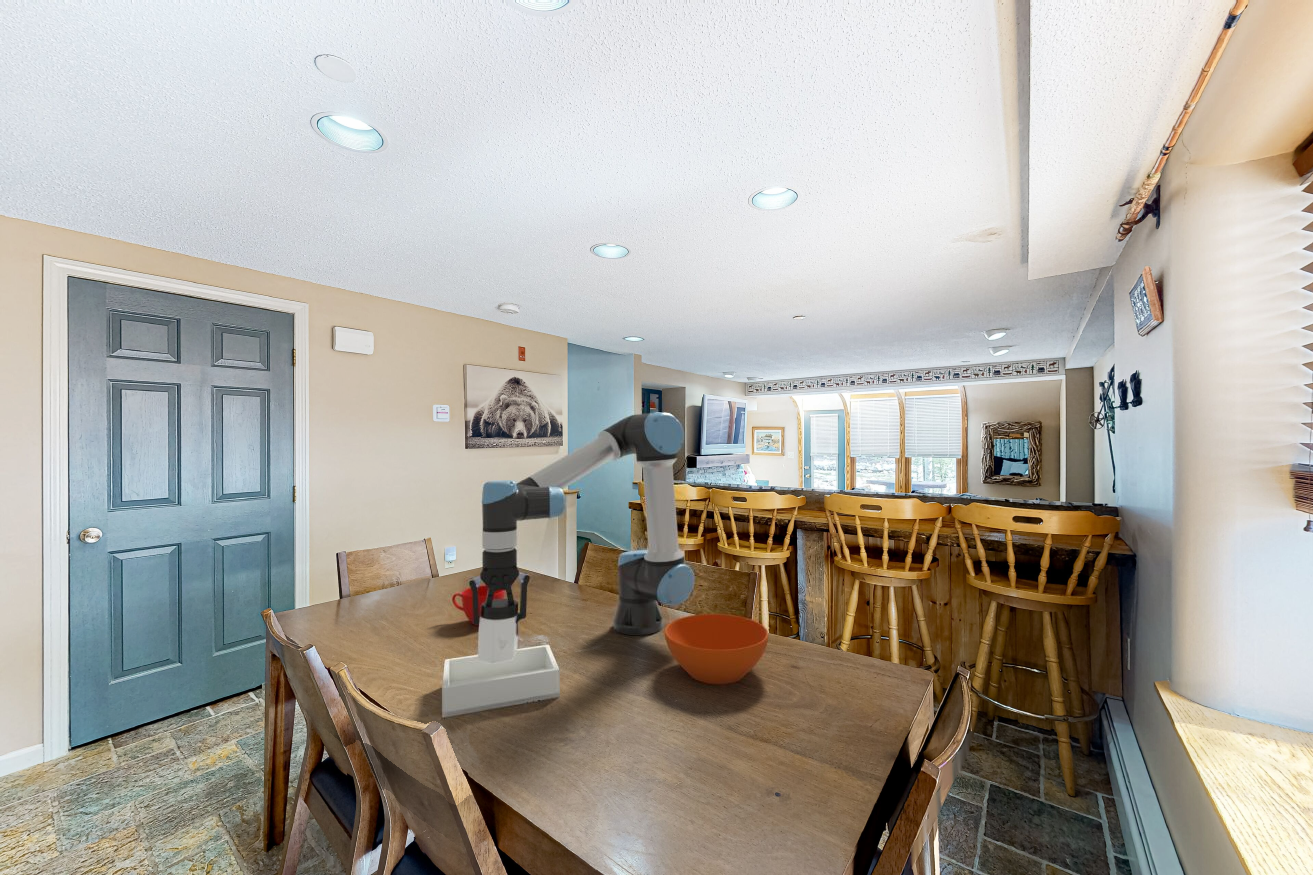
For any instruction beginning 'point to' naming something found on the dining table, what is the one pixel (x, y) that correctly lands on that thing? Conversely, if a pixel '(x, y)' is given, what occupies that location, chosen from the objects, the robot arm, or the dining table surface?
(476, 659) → the bin
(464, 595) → the ceramic cup
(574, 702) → the dining table surface
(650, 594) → the robot arm
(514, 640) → the jar
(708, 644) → the bowl
